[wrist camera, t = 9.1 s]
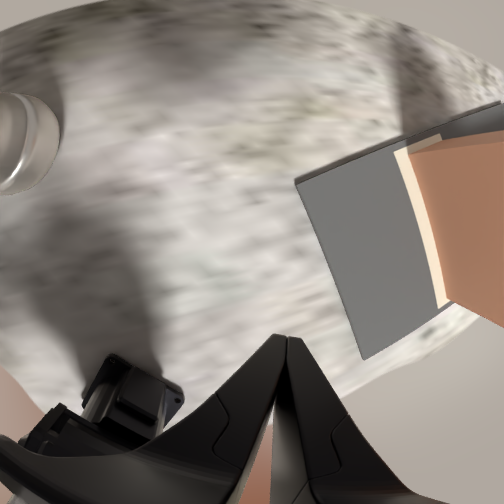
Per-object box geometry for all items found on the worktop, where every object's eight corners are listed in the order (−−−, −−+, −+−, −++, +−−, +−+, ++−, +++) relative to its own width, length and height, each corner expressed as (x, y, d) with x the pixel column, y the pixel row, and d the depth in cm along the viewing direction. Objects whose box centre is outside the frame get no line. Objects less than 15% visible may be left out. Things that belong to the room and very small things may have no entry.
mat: (362, 358, 22) (364, 360, 22) (295, 185, 20) (296, 184, 19) (532, 234, 23) (535, 235, 23) (501, 103, 20) (504, 103, 20)
